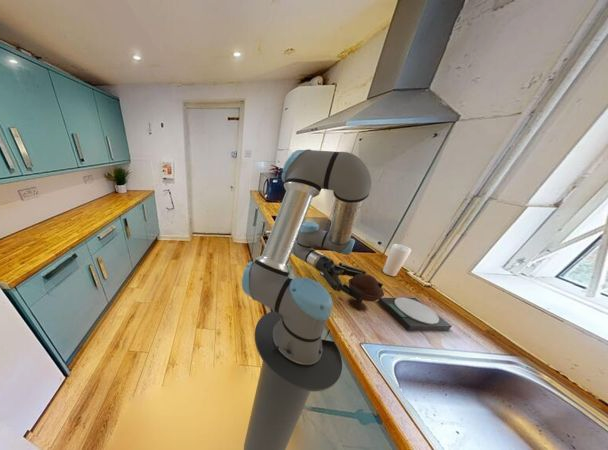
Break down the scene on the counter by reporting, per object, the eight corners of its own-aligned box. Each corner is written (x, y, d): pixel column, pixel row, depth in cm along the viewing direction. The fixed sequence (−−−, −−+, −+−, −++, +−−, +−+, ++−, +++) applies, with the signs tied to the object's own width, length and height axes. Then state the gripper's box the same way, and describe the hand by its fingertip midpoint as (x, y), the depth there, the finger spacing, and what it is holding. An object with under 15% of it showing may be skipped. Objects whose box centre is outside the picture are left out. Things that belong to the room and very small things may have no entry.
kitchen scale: (407, 330, 69) (411, 324, 67) (377, 302, 80) (380, 296, 79) (448, 330, 69) (453, 324, 68) (412, 302, 81) (415, 296, 80)
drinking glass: (385, 268, 102) (397, 242, 96) (401, 276, 96) (415, 249, 90) (377, 270, 100) (389, 245, 94) (392, 279, 94) (406, 252, 88)
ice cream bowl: (381, 318, 73) (398, 287, 67) (348, 313, 75) (362, 282, 69) (365, 297, 83) (379, 268, 76) (336, 293, 84) (348, 264, 78)
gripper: (335, 262, 97) (385, 290, 80) (299, 275, 87) (347, 311, 70) (339, 249, 94) (392, 275, 77) (303, 261, 84) (355, 295, 67)
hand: (371, 292), depth 73 cm, fingers open, 13 cm apart
